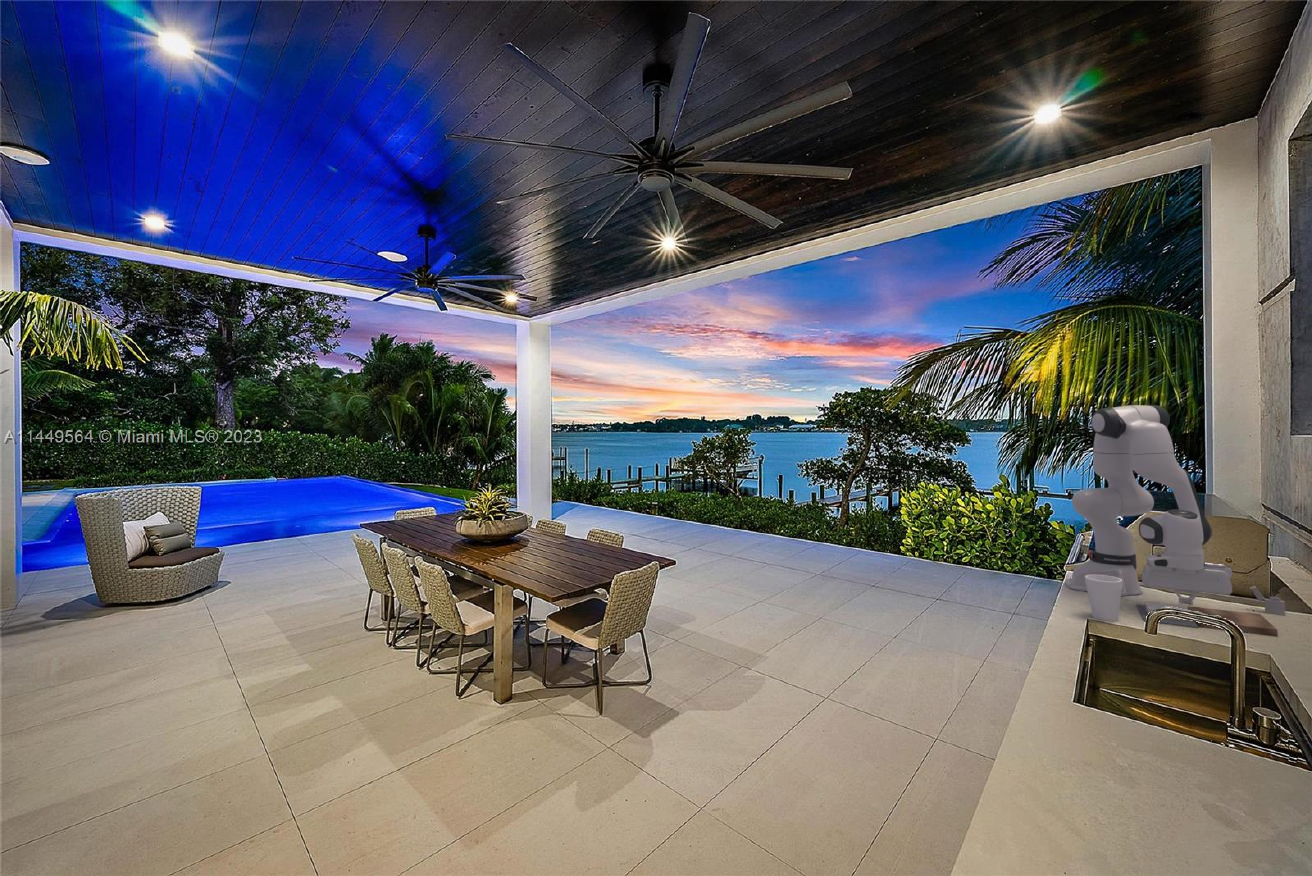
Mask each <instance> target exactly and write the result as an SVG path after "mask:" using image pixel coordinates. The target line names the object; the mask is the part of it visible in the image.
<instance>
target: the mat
mask: <svg viewBox="0 0 1312 876" xmlns="http://www.w3.org/2000/svg"><path fill="white" fill-rule="evenodd" d="M1135 605H1136V607H1137V610H1138V612H1139V613H1140V616H1141V619H1142V620H1143V621H1144V622H1145V620H1146V616H1147V615H1148V614H1147V612H1146V610H1145V604H1138V603H1136V604H1135ZM1158 624H1161V625H1162V624H1163V625H1170V626H1179V627H1187V628H1195V629H1199V628H1200V627H1199V626H1198V625H1197V624H1196V622H1194V621H1186V620H1177V619H1169V618H1164V619H1162V620H1160V622H1159V623H1158Z"/></svg>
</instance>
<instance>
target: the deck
mask: <svg viewBox="0 0 1312 876" xmlns="http://www.w3.org/2000/svg"><path fill="white" fill-rule="evenodd" d="M1187 608H1188V609H1189V610H1191V611H1199V612H1202V613H1205V614H1208V615H1219V616H1221V617H1222V618H1226V620H1230V621H1233V622H1234V623H1235V625H1238V627H1239V628H1240V629H1241V630H1242V631H1243V632H1242V633H1245V632H1249V633H1248V634H1256V635H1262V636H1263V635H1264V636H1270V635H1271V636H1272V637H1279V635H1278V634H1279V633H1278V629H1277V628H1276V626H1274V625H1273V624H1272V623H1271V622H1269V620H1267V619H1266V618H1265V617H1264V616H1263V615H1262V614H1260V613H1252V612H1244V611H1235V610H1234V611H1233V610H1225V609H1215V608H1207V607H1196V606H1191V605H1190V606H1189V605H1188V606H1187ZM1195 623H1196V624H1197V625H1198V627H1199V628H1205V629H1206V628H1207V629H1213V630H1214V629H1215V630H1223V631H1225V630H1224V629H1221V628H1218V627H1216V626H1212V625H1207V624H1203V623H1198V622H1195ZM1271 636H1270V637H1271Z"/></svg>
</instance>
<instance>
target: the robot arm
mask: <svg viewBox="0 0 1312 876" xmlns="http://www.w3.org/2000/svg"><path fill="white" fill-rule="evenodd" d="M1090 420H1091V421H1090V425H1091V428H1092V430H1093V431H1094V432H1095V435H1094V439H1093V453H1092V458H1093V459H1092V468H1093V471H1094V473H1095V474H1096V475H1097V476H1099V477H1101V478H1103V479H1105V480H1106V481H1107V484H1108V485H1107V486H1108V487H1096V488H1095V487H1093V488H1092V487H1091V488H1086V489H1082V490H1078V491H1077V490H1076V492H1075V493H1074V494H1073V496H1072V498H1071V504H1072V505H1071V506H1072V507H1073V509H1074V511H1075V512H1076V513H1077V514H1078V515H1080V516H1081V517H1083V518H1084V519H1085V520H1086V521H1087V522H1088V523H1089V525H1090V527H1091V528H1092V531H1093V536H1094V543H1095V546H1094V547H1095V550H1094V551H1093V550H1092V549H1088V550H1086V552H1087V555H1088V558H1089V560H1088V561H1085V562H1083V563H1082V564H1080V565H1078V566H1076V567H1075V568H1074V569H1073V571H1072V574H1071V578H1068V579H1066V580H1065V582H1064V583H1065V586H1066V587H1067V588H1068V589H1070V590H1075V591H1082V592H1088V591H1087V586H1086V584H1085V576H1086V575H1107V576H1113V577H1117V578H1120V579H1122V586H1123V588H1122V590H1121V597H1125V596H1134V595H1140V594H1142V593H1143V590H1142V587H1141V585H1140V582H1139V578H1138V574H1137V567H1138V560H1137V559H1138V558H1137V556H1136V553H1135V546H1134V535H1133V533H1132V532H1131V531H1130V530H1129V529H1128V528H1126V527H1124V526H1121V525H1119V523H1118V521H1117V517H1135V516H1139V515H1143V514H1144V515H1146V514H1148V513H1150V512H1152V510H1153V508H1154V505H1155V500H1154V497H1153V495H1152V494H1151V493H1150V492H1149V491H1148V490H1147V489H1146V488H1144V487H1142V486H1141V485H1140V483H1138V481H1137V479H1136V478H1135V475H1134V472H1135V473H1136V474H1137V475H1139V476H1140V477H1142V478H1143V479H1146V480H1149V481H1152V482H1155V483H1158V484H1161V485H1163V486H1167V488H1169V490H1171V491H1172V493H1173V496H1174V498H1175V500H1176V504H1177V507H1178V509H1169V510H1167V511H1165V512H1164V513H1163V514H1159V515H1153V516H1147V517H1144V518H1143V519H1141V520H1140V522H1139V525H1138V533H1139V536H1140V537H1141V539H1142V540H1143V541H1145V542H1146V543H1147V544H1150V545H1155V546H1164V547H1165V548H1164V552H1163V553H1155V554H1150V555H1147V556H1146V562H1147V563H1146V564H1144V566H1143V568H1142V574H1141V580H1142V581H1141V582H1142V584H1143V585H1144V586H1145V587H1149V588H1158V589H1167V590H1168V589H1169V590H1173V592H1174V593H1175V594H1176V596H1177V597H1178V603H1179V604H1181V605H1188V606H1189V605H1190V606H1193V603H1194V600H1195V599H1196V598H1197V596H1198V593H1203V594H1204V593H1206V594H1217V595H1225V596H1230V595H1231V594H1233V586H1232V582H1231V578H1232V577H1233V570H1232V568H1231V567H1229V566H1228V565H1225V564H1223V563H1212V562H1205V552H1204V549H1203V545H1206V544H1207V543H1208V542H1209V541H1210V539H1211V538H1212V536H1213V529H1212V526H1211V525H1210V522H1209V521H1208V519H1207V517H1206V516H1205V512H1204V510H1203V507H1202V504H1201V502H1200V501H1201V500H1200V499H1199V495H1198V492H1197V490H1196V487H1195V483H1194V482H1193V479H1192V477H1191V475H1190V473H1189V472H1188V471H1187V470H1186V469H1184V468H1183V467H1181V466H1180V464H1179V463H1178V460H1177V459H1176V456H1175V455H1176V454H1175V450H1174V444H1173V440H1172V438H1171V435H1170V432H1169V430H1168V426H1169V424H1170V414H1169V413H1168V410H1167V409H1165V407H1162V406H1160V405H1156V404H1145V405H1143V404H1142V405H1141V404H1140V405H1138V404H1136V405H1135V404H1129V405H1123V406H1116V407H1104V408H1100V409H1098V410H1097V409H1096V410H1095V412H1093V414H1092V416H1091V419H1090ZM1182 591H1187V592H1189V593H1190V595H1189V596H1188V597H1185V596H1181V594H1182Z"/></svg>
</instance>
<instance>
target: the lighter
mask: <svg viewBox="0 0 1312 876" xmlns="http://www.w3.org/2000/svg"><path fill="white" fill-rule="evenodd" d="M1249 589H1250V590H1251V592H1252V593H1253V595H1254V596H1255V597H1256V599H1257V600H1258V601H1264V613H1265V614H1271V615H1276V616H1277V615H1278V616H1286V603H1285V602H1286V601H1285V600H1282V598H1280V597H1277V596H1269V598H1265V597H1264V595H1263V594H1262V592H1261V591H1260V590H1259V588H1258V587H1257V586H1255V585H1253V586H1250V587H1249Z"/></svg>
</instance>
